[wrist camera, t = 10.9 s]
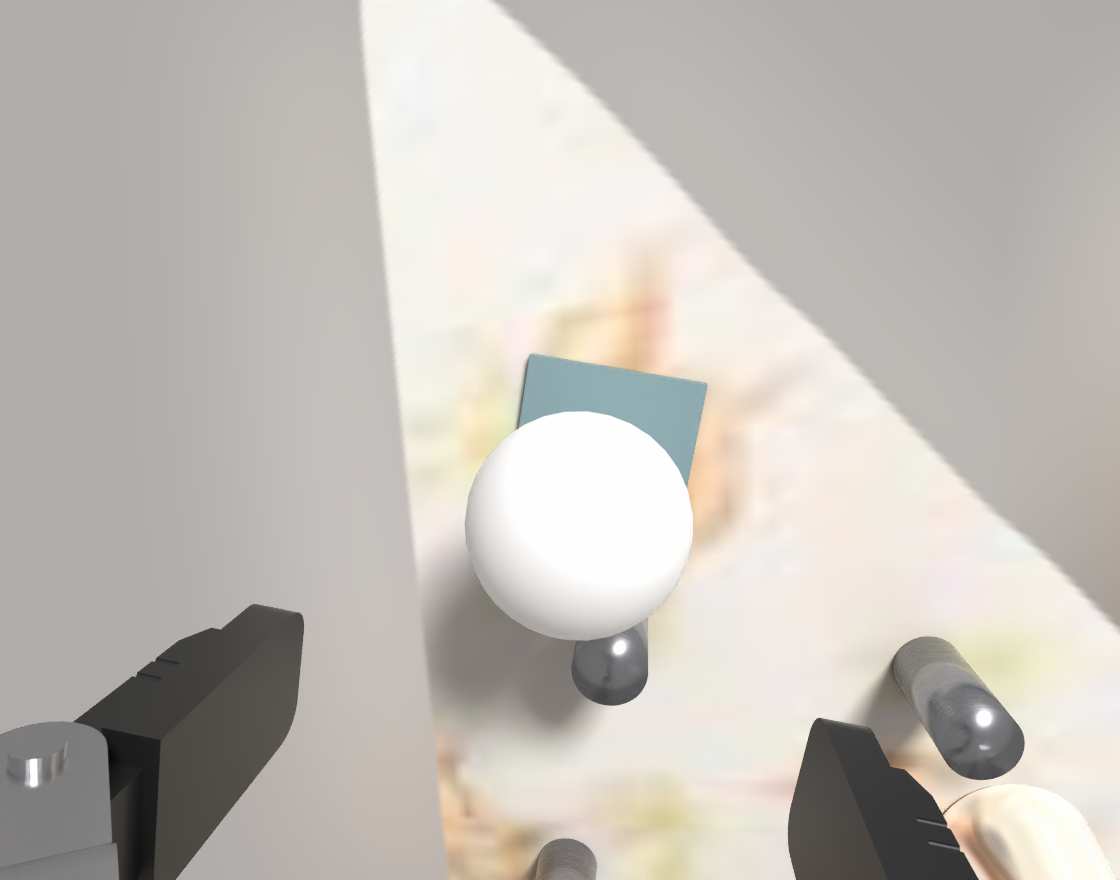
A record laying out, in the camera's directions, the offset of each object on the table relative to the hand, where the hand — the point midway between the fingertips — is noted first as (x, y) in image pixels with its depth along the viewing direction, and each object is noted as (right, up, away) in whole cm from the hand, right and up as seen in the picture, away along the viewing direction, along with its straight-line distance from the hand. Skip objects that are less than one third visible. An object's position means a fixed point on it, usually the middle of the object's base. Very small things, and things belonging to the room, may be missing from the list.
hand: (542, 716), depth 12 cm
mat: (+2, +4, +17) cm, 18 cm away
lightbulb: (+2, +4, +17) cm, 17 cm away
